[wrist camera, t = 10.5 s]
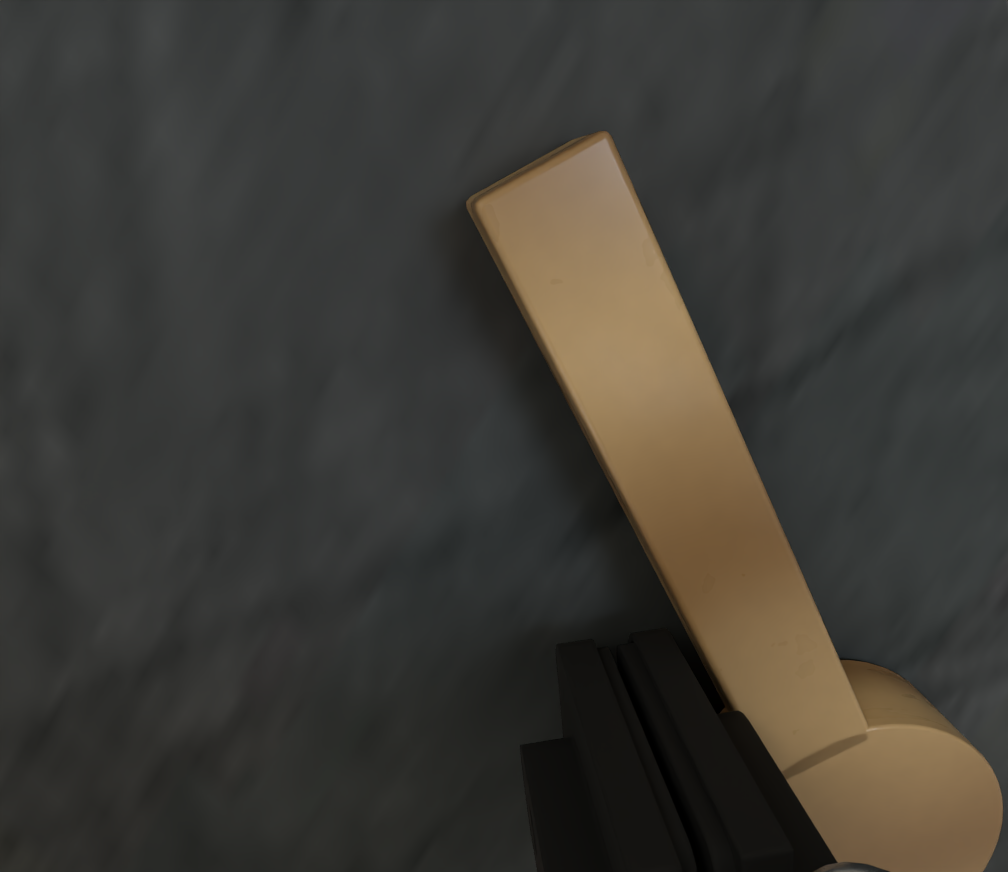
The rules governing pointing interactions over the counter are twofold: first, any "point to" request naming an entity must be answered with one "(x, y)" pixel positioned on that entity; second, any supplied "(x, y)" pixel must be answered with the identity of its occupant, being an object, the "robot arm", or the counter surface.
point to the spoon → (723, 522)
